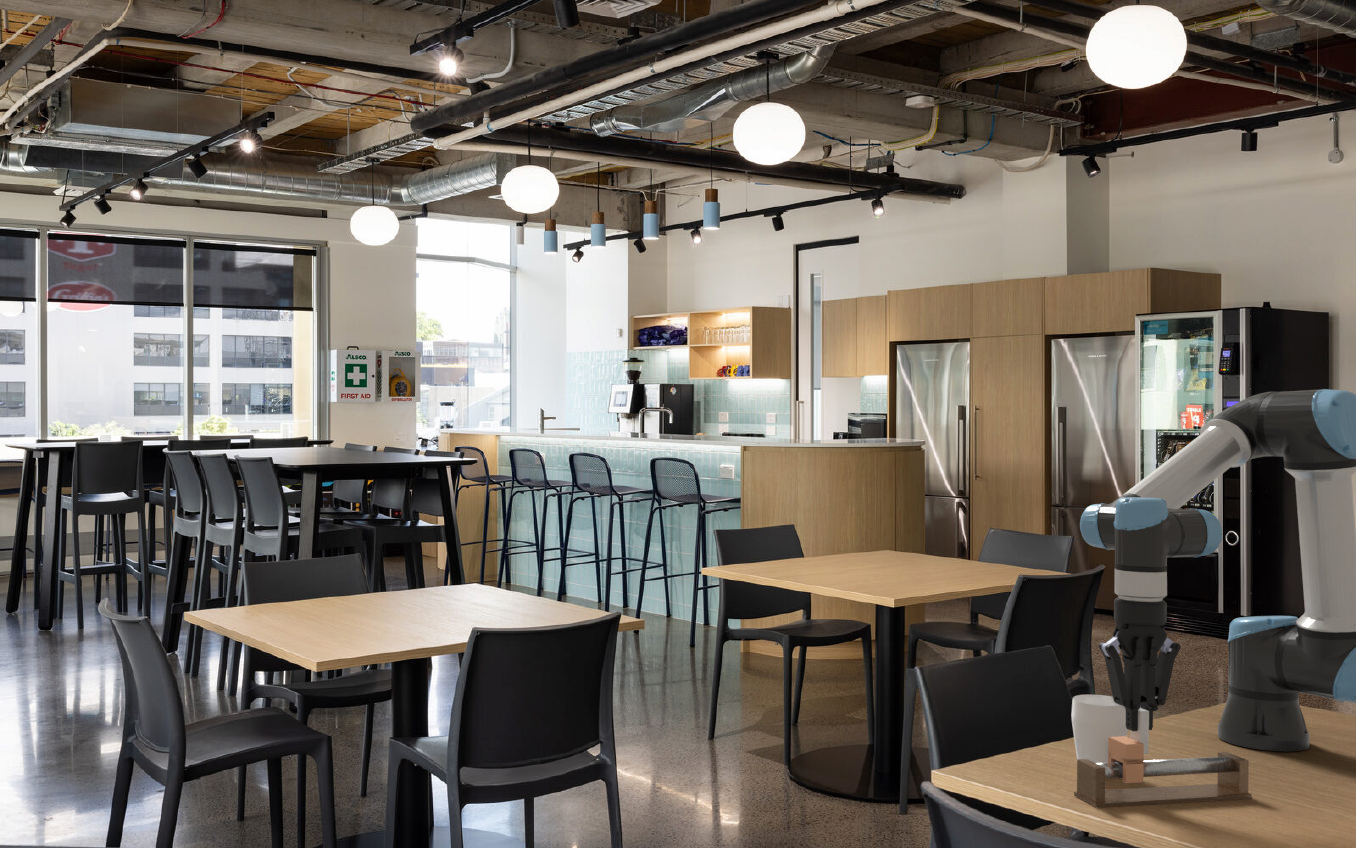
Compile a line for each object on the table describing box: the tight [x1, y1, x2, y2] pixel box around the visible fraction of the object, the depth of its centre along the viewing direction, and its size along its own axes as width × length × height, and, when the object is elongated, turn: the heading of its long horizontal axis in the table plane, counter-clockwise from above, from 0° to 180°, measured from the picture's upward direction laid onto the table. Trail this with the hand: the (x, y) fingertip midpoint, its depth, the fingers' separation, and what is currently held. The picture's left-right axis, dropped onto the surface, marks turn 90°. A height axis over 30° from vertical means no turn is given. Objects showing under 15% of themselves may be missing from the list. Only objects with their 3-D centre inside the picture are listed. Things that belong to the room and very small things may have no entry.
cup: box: [1071, 694, 1129, 763], centre depth 191 cm, size 9×9×12 cm
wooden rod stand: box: [1073, 751, 1253, 808], centre depth 178 cm, size 27×6×6 cm, turn 103°
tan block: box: [1108, 735, 1145, 784], centre depth 176 cm, size 3×5×6 cm, turn 13°
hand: (1139, 751), depth 177 cm, fingers closed
